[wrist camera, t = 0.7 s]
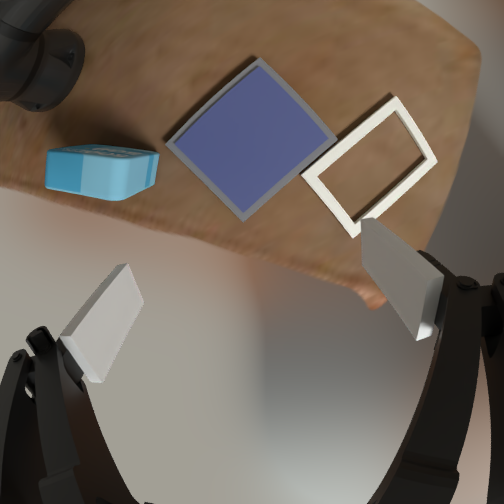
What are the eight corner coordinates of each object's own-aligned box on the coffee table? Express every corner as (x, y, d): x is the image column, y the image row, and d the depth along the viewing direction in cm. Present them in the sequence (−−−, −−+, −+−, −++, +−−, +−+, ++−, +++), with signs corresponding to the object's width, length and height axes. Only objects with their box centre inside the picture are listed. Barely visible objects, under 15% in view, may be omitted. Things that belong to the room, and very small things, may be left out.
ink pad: (167, 144, 34) (164, 144, 32) (259, 59, 29) (259, 56, 28) (243, 219, 38) (243, 223, 37) (335, 139, 33) (338, 139, 32)
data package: (163, 152, 34) (124, 159, 23) (157, 183, 36) (119, 203, 25) (92, 143, 33) (42, 150, 22) (89, 172, 35) (39, 187, 24)
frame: (300, 174, 35) (301, 175, 35) (393, 96, 30) (396, 95, 30) (351, 236, 39) (352, 238, 38) (434, 161, 34) (437, 161, 33)
